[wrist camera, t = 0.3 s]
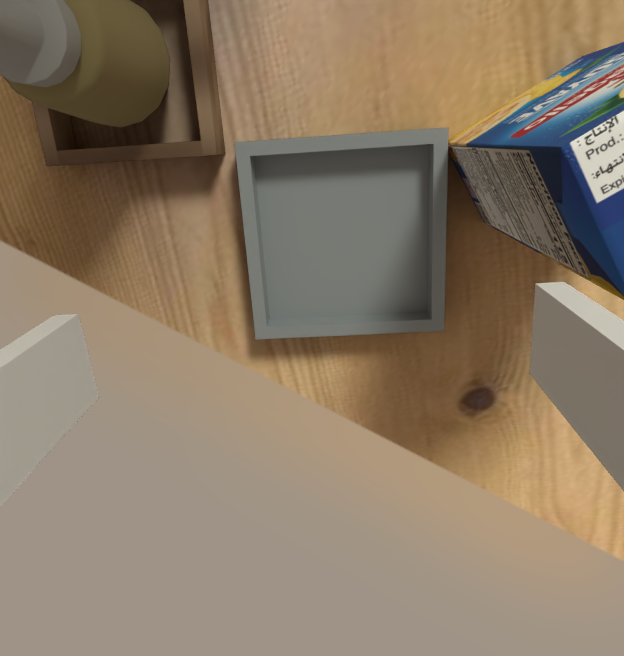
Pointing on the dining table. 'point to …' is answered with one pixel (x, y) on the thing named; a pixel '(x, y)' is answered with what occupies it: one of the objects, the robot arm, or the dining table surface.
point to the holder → (64, 152)
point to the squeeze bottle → (85, 57)
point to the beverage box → (556, 167)
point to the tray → (346, 232)
